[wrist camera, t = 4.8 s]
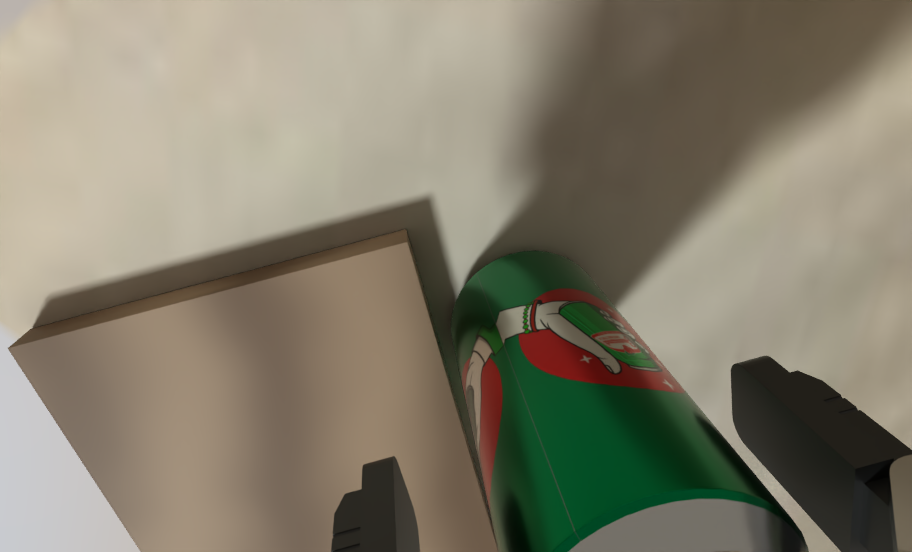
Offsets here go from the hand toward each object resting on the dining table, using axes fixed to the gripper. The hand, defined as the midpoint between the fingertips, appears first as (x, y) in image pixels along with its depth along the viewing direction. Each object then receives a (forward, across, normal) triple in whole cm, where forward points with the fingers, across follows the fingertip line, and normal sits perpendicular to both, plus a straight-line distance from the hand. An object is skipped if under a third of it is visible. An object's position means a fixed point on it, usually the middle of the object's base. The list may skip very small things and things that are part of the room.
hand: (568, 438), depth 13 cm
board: (+7, +8, +5) cm, 12 cm away
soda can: (+7, 0, 0) cm, 7 cm away
